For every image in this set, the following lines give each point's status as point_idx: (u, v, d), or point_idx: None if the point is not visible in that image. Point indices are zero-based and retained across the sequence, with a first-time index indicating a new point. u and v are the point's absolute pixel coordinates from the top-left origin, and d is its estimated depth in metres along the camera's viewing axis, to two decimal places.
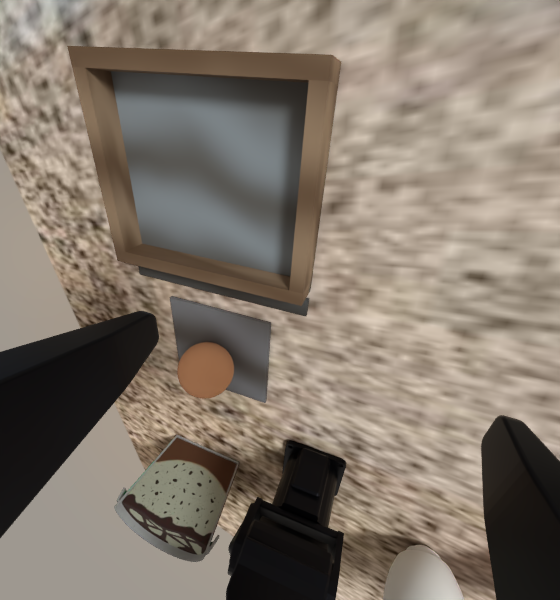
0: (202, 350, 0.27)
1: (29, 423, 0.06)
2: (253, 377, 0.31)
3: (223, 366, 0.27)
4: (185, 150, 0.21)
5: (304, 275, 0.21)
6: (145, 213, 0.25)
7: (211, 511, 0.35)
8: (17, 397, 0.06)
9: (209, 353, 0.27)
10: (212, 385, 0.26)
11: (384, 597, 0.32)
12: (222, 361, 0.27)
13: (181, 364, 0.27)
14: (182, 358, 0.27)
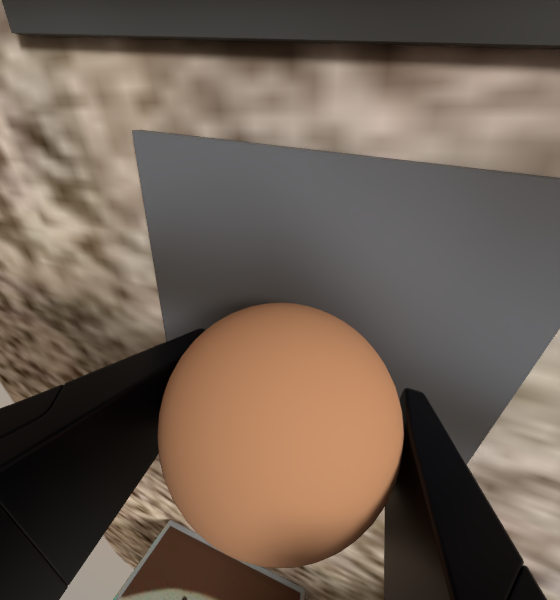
0: (281, 332, 0.05)
1: (105, 457, 0.06)
2: None
3: (390, 414, 0.05)
4: None
5: None
6: None
7: None
8: (95, 430, 0.06)
9: (320, 347, 0.05)
10: (348, 526, 0.05)
11: None
12: (381, 388, 0.05)
13: (175, 403, 0.05)
14: (180, 372, 0.06)
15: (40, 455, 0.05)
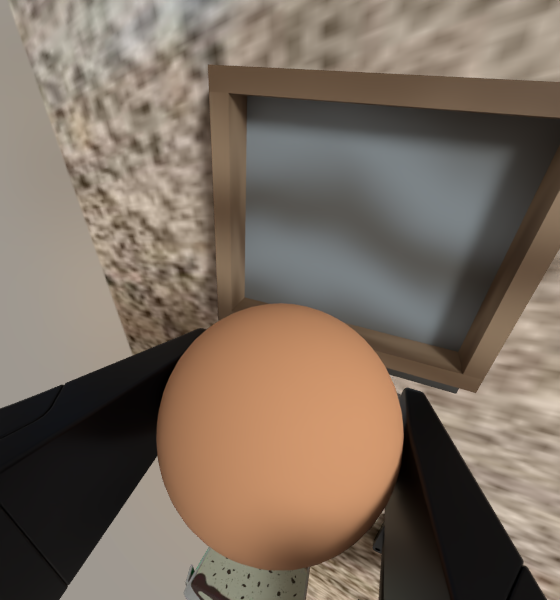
0: (280, 334, 0.05)
1: (105, 457, 0.06)
2: None
3: (390, 415, 0.05)
4: (333, 195, 0.17)
5: (493, 359, 0.16)
6: (257, 264, 0.20)
7: (294, 595, 0.30)
8: (95, 430, 0.06)
9: (320, 349, 0.05)
10: (348, 528, 0.05)
11: None
12: (381, 389, 0.05)
13: (174, 405, 0.05)
14: (179, 373, 0.06)
15: (40, 455, 0.05)
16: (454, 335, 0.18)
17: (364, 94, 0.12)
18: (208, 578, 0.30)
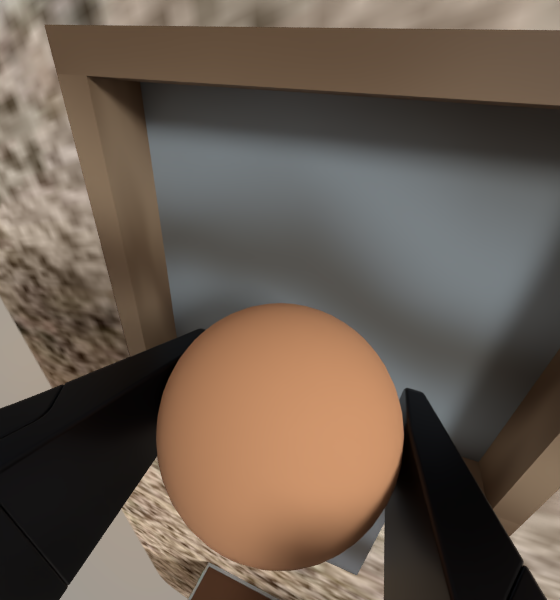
0: (280, 333, 0.05)
1: (105, 457, 0.06)
2: None
3: (390, 415, 0.05)
4: (286, 239, 0.11)
5: (539, 503, 0.10)
6: (190, 326, 0.14)
7: None
8: (95, 430, 0.06)
9: (320, 348, 0.05)
10: (348, 528, 0.05)
11: None
12: (381, 389, 0.05)
13: (174, 405, 0.05)
14: (179, 373, 0.06)
15: (40, 455, 0.05)
16: (473, 441, 0.12)
17: (314, 72, 0.06)
18: None
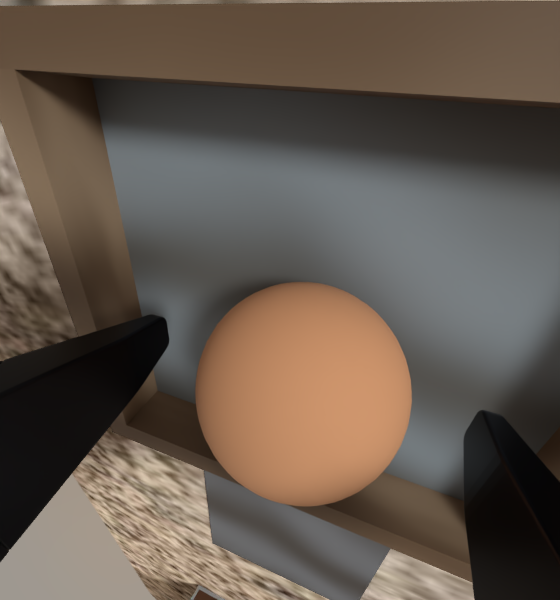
0: (306, 303, 0.06)
1: (43, 429, 0.06)
2: (339, 583, 0.18)
3: (401, 368, 0.06)
4: (267, 260, 0.09)
5: None
6: (166, 351, 0.13)
7: None
8: (31, 403, 0.06)
9: (342, 314, 0.06)
10: (374, 460, 0.06)
11: None
12: (393, 347, 0.06)
13: (217, 369, 0.06)
14: (217, 343, 0.06)
15: None
16: None
17: (285, 63, 0.05)
18: None
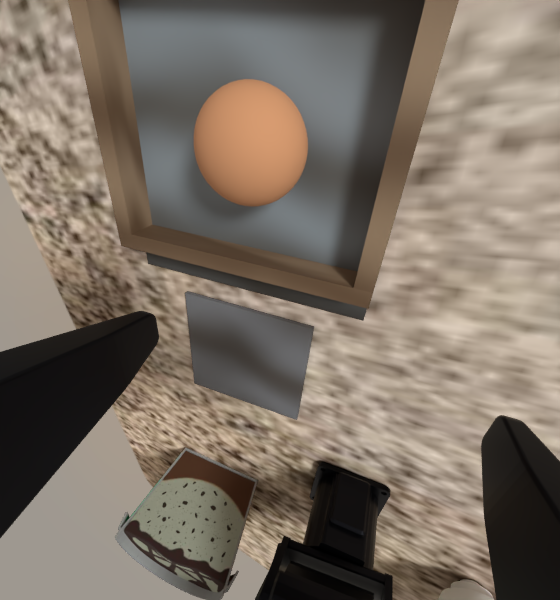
0: (252, 79, 0.12)
1: (29, 423, 0.06)
2: (284, 390, 0.25)
3: (300, 114, 0.13)
4: None
5: (378, 268, 0.15)
6: (157, 184, 0.19)
7: (227, 541, 0.30)
8: (17, 397, 0.06)
9: (269, 84, 0.12)
10: (298, 145, 0.12)
11: None
12: (294, 105, 0.13)
13: (216, 112, 0.12)
14: (210, 104, 0.12)
15: None
16: (352, 252, 0.17)
17: None
18: (142, 525, 0.30)
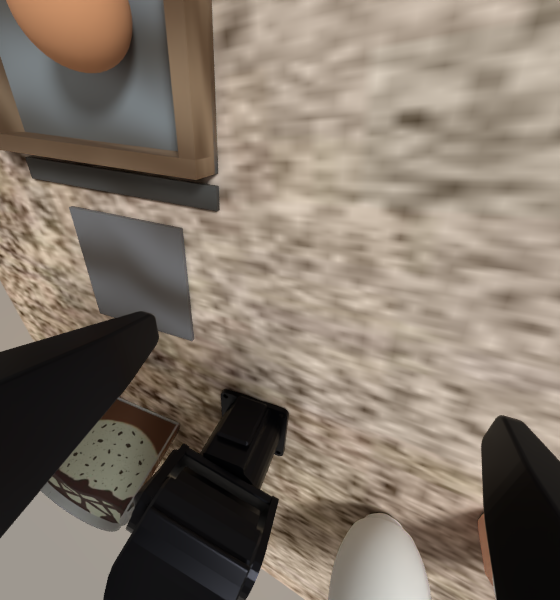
0: None
1: (29, 423, 0.06)
2: (174, 307, 0.26)
3: None
4: None
5: (192, 130, 0.16)
6: (19, 85, 0.20)
7: (136, 474, 0.30)
8: (17, 397, 0.06)
9: None
10: None
11: (332, 571, 0.27)
12: None
13: None
14: None
15: None
16: None
17: None
18: None
